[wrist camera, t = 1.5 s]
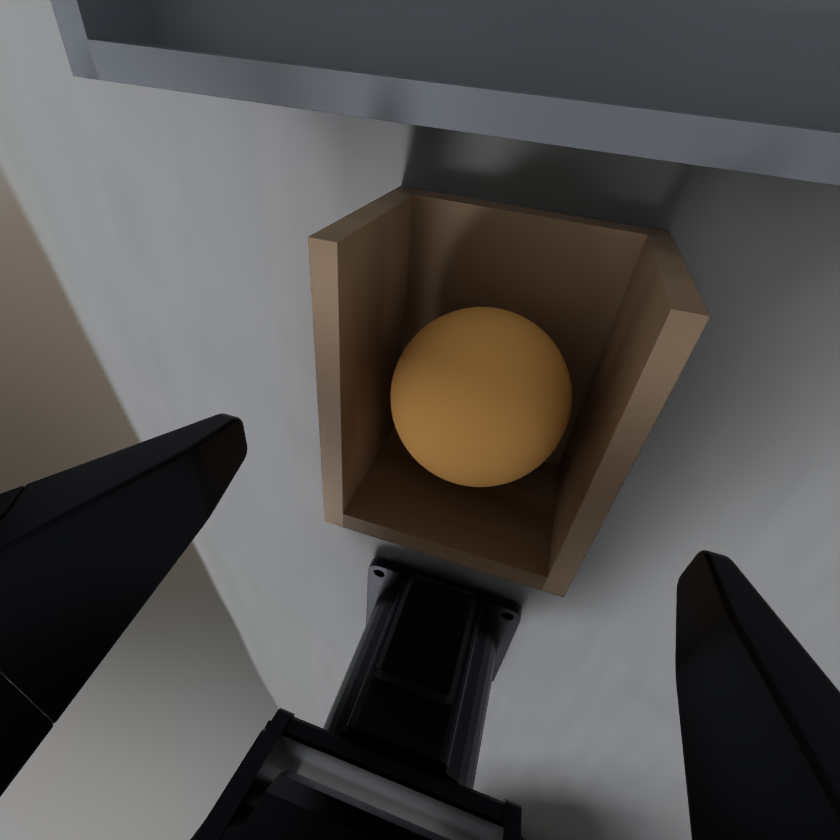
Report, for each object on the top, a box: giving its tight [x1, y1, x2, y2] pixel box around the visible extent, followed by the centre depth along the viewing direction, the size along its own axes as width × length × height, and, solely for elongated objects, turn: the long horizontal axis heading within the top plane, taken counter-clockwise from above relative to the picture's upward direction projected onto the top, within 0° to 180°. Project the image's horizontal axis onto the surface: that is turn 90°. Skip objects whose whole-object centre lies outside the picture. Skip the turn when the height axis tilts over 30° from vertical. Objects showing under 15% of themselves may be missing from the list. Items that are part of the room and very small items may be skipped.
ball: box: [390, 307, 572, 487], centre depth 10 cm, size 4×4×4 cm
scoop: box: [308, 186, 710, 597], centre depth 11 cm, size 7×6×4 cm
